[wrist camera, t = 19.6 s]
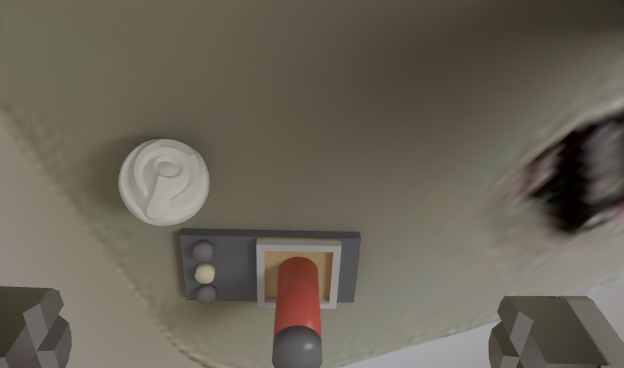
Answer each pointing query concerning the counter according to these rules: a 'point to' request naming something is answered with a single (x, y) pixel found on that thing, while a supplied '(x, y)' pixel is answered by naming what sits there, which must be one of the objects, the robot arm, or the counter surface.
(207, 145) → the counter surface
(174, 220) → the white swirled ball
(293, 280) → the red cylinder with cap
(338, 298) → the control panel
